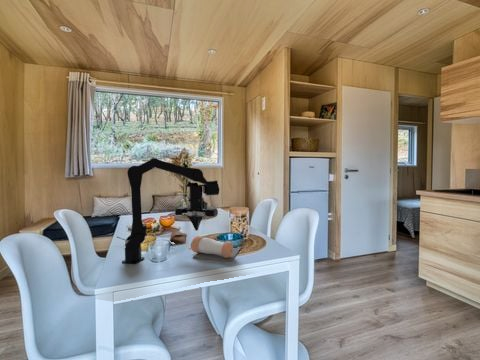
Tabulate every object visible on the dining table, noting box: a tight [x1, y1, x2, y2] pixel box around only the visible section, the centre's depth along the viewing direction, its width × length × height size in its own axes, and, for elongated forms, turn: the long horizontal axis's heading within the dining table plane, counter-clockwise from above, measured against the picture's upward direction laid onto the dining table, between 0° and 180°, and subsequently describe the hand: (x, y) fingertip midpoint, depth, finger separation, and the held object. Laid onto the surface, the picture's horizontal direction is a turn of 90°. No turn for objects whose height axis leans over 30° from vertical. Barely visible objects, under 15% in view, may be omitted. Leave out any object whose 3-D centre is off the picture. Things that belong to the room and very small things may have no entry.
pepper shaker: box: [190, 235, 234, 258], centre depth 113 cm, size 7×7×19 cm
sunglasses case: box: [169, 229, 188, 245], centre depth 139 cm, size 18×7×7 cm
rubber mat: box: [193, 246, 243, 262], centre depth 118 cm, size 18×17×1 cm
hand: (196, 230), depth 118 cm, fingers closed
